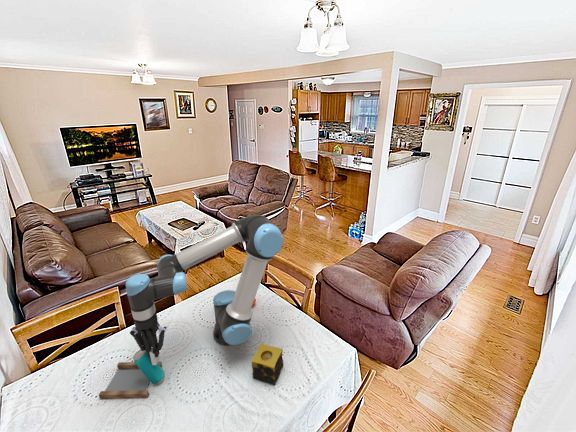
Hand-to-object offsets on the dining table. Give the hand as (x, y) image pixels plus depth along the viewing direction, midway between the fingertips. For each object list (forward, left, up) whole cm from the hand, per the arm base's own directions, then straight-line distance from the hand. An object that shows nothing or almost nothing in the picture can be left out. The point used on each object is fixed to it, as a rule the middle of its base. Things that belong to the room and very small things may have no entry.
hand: (155, 362), depth 111 cm
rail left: (+11, +6, -11) cm, 16 cm away
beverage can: (0, 0, -10) cm, 10 cm away
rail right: (+11, -7, -11) cm, 17 cm away
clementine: (-32, -45, -11) cm, 56 cm away
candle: (-44, -3, -11) cm, 45 cm away
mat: (+12, 0, -11) cm, 16 cm away
